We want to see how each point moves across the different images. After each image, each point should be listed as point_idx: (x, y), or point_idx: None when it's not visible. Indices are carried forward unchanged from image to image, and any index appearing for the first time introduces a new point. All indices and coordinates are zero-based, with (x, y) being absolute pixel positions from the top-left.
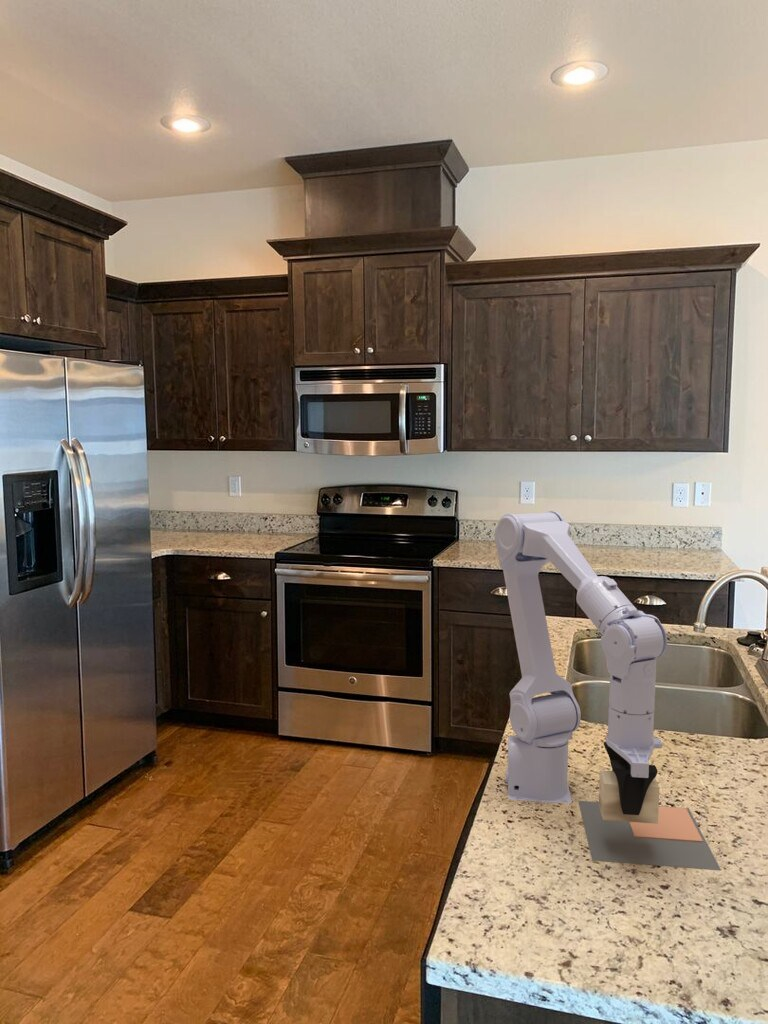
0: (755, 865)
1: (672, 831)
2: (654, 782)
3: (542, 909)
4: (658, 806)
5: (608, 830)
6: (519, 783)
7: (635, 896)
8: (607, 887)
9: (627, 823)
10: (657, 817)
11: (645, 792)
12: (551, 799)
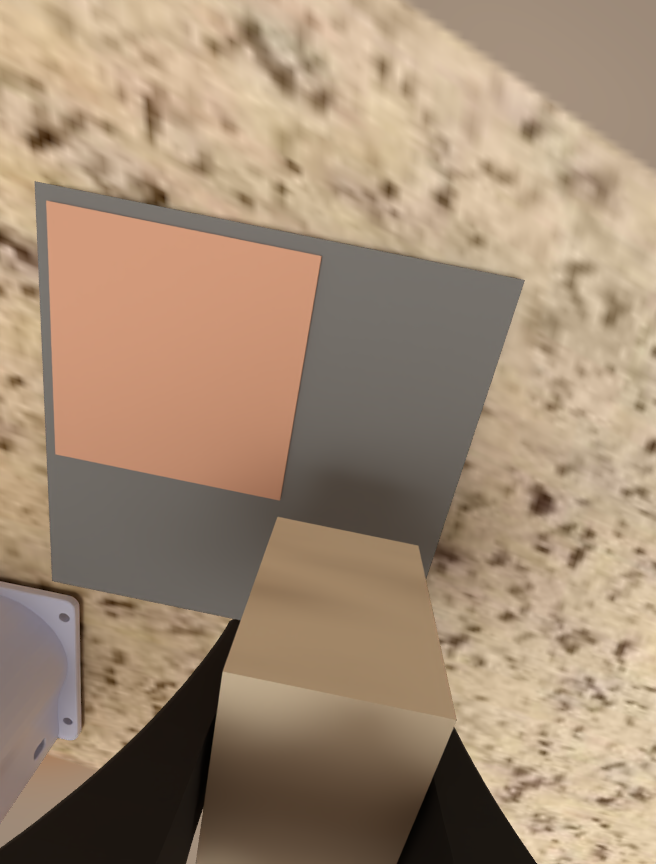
0: (480, 78)
1: (248, 353)
2: (372, 717)
3: (563, 785)
4: (431, 608)
5: (237, 558)
6: (28, 760)
7: (567, 594)
8: (511, 642)
9: (188, 485)
10: (420, 567)
11: (493, 800)
12: (62, 652)
